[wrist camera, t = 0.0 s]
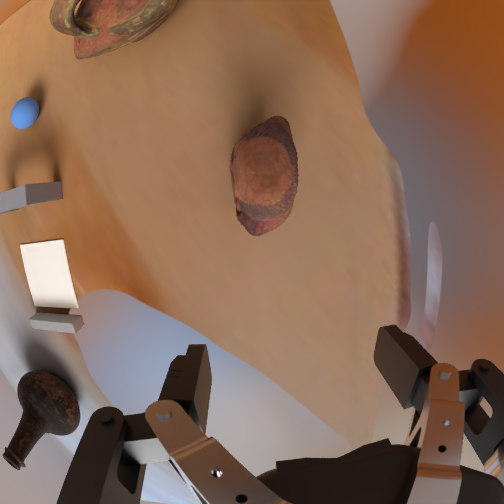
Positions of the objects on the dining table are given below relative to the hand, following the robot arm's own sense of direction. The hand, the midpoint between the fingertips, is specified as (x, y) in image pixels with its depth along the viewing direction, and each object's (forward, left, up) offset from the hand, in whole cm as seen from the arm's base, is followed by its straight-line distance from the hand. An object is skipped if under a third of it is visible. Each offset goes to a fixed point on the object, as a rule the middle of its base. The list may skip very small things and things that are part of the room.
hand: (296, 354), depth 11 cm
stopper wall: (+14, -40, -29) cm, 52 cm away
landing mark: (+5, -40, -29) cm, 50 cm away
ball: (-26, -40, -26) cm, 55 cm away
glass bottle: (+35, -51, -30) cm, 69 cm away
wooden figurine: (-8, 0, -30) cm, 31 cm away
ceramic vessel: (-40, -17, -30) cm, 53 cm away
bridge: (-10, -40, -29) cm, 51 cm away
